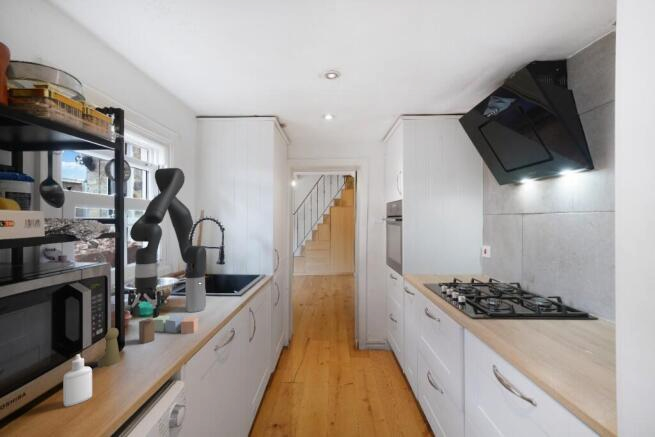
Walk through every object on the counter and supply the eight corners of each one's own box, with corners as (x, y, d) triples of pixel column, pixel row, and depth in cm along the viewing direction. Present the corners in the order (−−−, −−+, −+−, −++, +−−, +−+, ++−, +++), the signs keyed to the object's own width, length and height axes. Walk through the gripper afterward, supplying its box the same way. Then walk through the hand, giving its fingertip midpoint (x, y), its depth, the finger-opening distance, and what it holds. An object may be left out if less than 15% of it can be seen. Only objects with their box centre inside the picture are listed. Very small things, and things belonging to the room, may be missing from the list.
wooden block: (138, 341, 113) (138, 321, 113) (149, 338, 116) (149, 318, 116) (144, 344, 111) (144, 322, 111) (154, 340, 114) (154, 319, 114)
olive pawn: (124, 359, 99) (124, 326, 99) (105, 368, 93) (105, 333, 93) (111, 356, 101) (111, 324, 101) (92, 365, 95) (92, 331, 95)
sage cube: (158, 327, 129) (158, 315, 129) (169, 327, 129) (169, 315, 129) (151, 331, 124) (151, 319, 124) (163, 331, 124) (163, 319, 124)
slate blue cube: (174, 327, 128) (174, 316, 128) (184, 328, 127) (184, 317, 127) (165, 331, 123) (165, 320, 123) (175, 333, 122) (175, 321, 122)
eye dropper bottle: (87, 403, 75) (87, 356, 75) (60, 408, 73) (60, 360, 73) (94, 394, 79) (94, 349, 79) (68, 398, 77) (68, 352, 77)
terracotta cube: (186, 329, 126) (185, 317, 126) (198, 328, 126) (197, 317, 126) (181, 333, 121) (181, 321, 121) (193, 333, 121) (193, 321, 121)
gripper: (169, 273, 116) (169, 314, 116) (138, 272, 119) (138, 313, 118) (154, 277, 109) (154, 321, 109) (122, 276, 111) (121, 319, 111)
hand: (146, 316), depth 114 cm, fingers open, 8 cm apart
